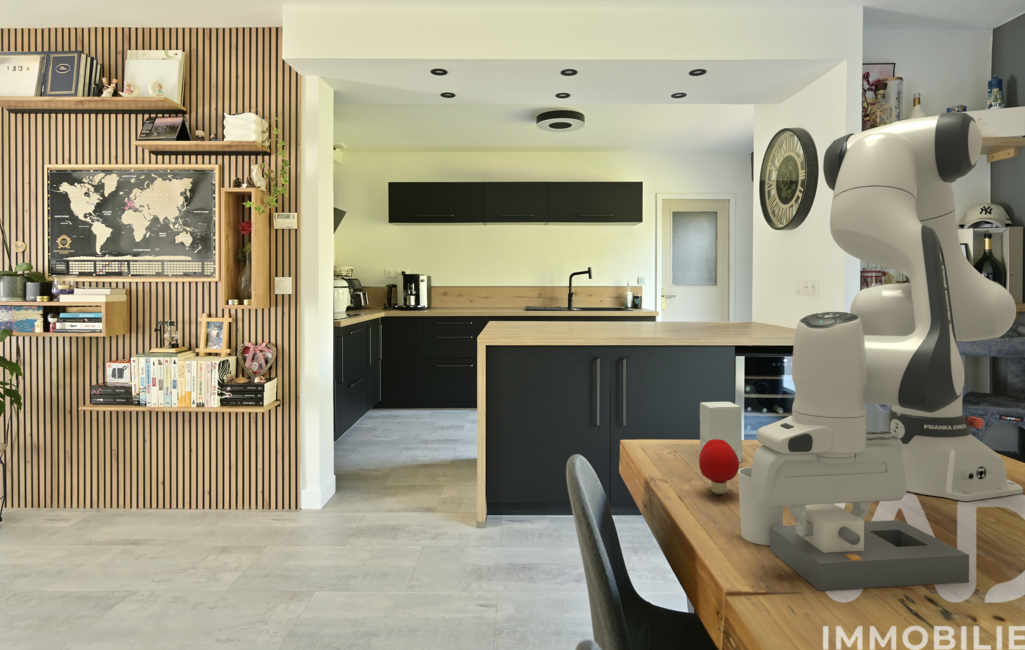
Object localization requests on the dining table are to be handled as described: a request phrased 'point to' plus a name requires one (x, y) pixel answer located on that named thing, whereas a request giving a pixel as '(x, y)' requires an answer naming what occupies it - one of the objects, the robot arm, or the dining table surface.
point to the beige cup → (756, 512)
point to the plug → (834, 528)
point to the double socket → (874, 558)
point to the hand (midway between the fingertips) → (828, 533)
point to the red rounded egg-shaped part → (718, 464)
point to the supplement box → (721, 424)
